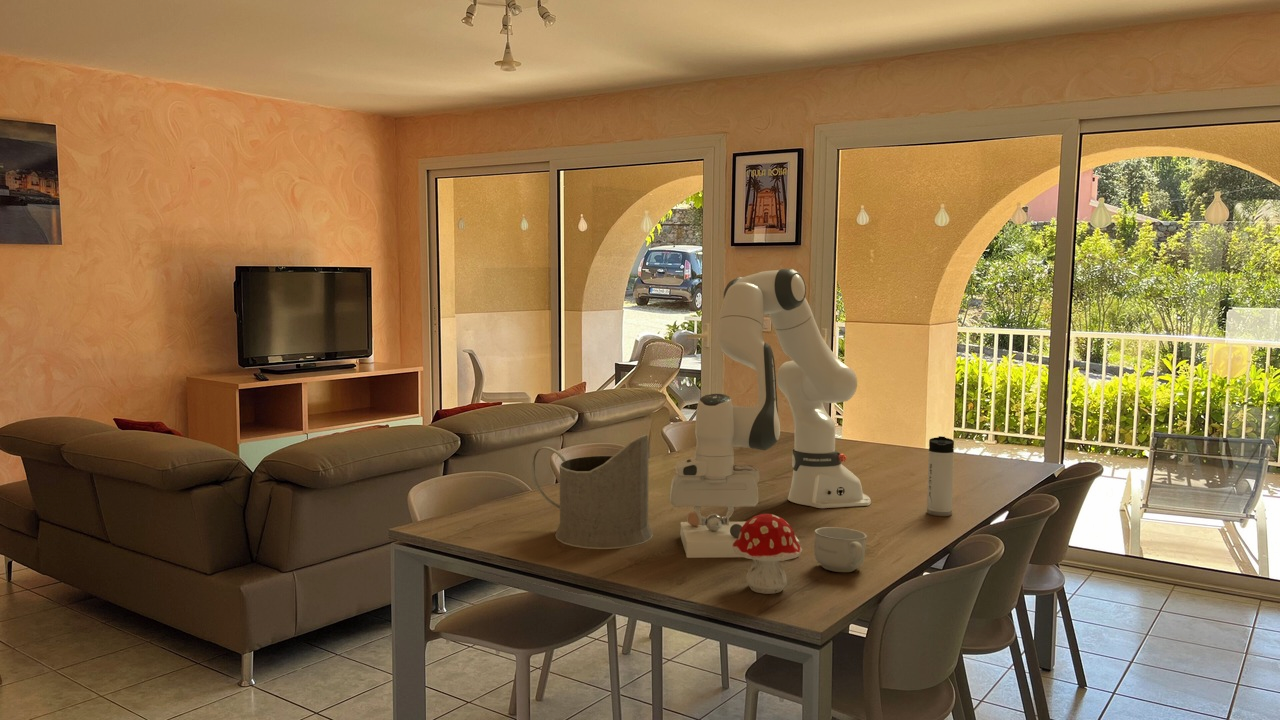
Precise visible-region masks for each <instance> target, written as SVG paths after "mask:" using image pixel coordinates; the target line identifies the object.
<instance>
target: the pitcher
mask: <svg viewBox="0 0 1280 720" xmlns="http://www.w3.org/2000/svg"><path fill="white" fill-rule="evenodd" d="M649 437H650V436H649V435H648V434H643V435H641V436H638V437H636V438H635V439H633V440H630V441H629V443H627V444H626V445H625V446H624V447H622V448H621V449H620V450H619V451H618V452H616V453H615V454H614V455H591V456H579V457H574V458H569V459H566V458H565V456H564V455H563V454H562V453H561V452H560V451H558V450H557V449H555V448H552V447H550V446H542V447H538V448H537V449H536V450H535V451H534V453H533V456H532V461H531V472H532V473H531V474H532V481H533V483H534V486H535V487H536V489H537V490H538V492H539V493H540V495H541V496H542V497H543V498H544V500H546V502H548V503H550V504H551V505H552V506H554V507H555V508H557V509H559V524H558V528H557V530H556V533H555V534H554V535H555V539H556V540H558V541H559V542H561V543H562V544H565V545H567V546H571V547H575V548H581V549H582V548H583V549H593V550H594V549H595V550H597V549H598V550H609V549H612V550H613V549H623V548H624V549H625V548H630V547H635V546H638V545H642V544H644V543H646V542H649V541H650V540H651V539H652V537H653V535H654V534H653V531H652V528H651V527H650V524H649V455H650V454H649V449H650V448H649V447H650V446H649V442H650V441H649ZM541 450H548V451H551V452H553V453H555V454H556V455H557V456H558V457H559V458H560V459H561V461H562V462H561V463H559V504H558V503H556V502H555V501H553V500H552V499H551V498H550V497H548V496H547V495H546V493H545V492H544V491H543V489H542V488H541V487H540V485H539V483H538V480H537V475H536V458H537V455H538V453H539V452H540V451H541Z"/></svg>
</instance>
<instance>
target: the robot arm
mask: <svg viewBox="0 0 1280 720" xmlns="http://www.w3.org/2000/svg"><path fill="white" fill-rule="evenodd" d="M806 295H807V287H806V283H805V280H804V278H803V276H802V275H801V274H800V273H799V272H798V271H797V270H796V269H793V268H780V269H778V270H777V269H776V270H773V269H772V270H765V271H760V272H757V273H752V274H749V275H746V276H743V277H742V276H739V277H736V278H734V279H731V280H730V281H729V282H728V283H727V284H726V286H725V289H724V291H723V300H722V303H721V307H720V311H719V314H718V321H717V328H716V342H717V345H718V348H719V349H720V350H721V352H722V353H724V355H726V356H727V357H728V358H729V359H731V360H733V361H735V362H737V363H739V364H742V365H743V366H744V365H745V366H746V367H748V368H751V370H753V371H755V372H756V374H757V375H756V377H757V389H758V390H757V392H758V393H757V394H758V403H757V404H756V405H753V406H745V405H744V406H742V405H734V404H733V402H732V401H733V400H732V399H731V398H732V397H730V396H729V395H727V394H723V393H710V394H706V395H703V396H701V397H700V398H699V399H698V402H697V407H696V414H695V423H694V424H695V427H694V431H695V433H694V435H695V437H696V446H695V449H694V450H695V451H694V456H692V457H689V458H686V459H683V460H679V461H677V462H676V463H675V471H676V473H675V474H673V477H672V479H671V484H670V492H669V502H670V504H671V505H672V506H673V507H674V508H681V507H682V508H688V507H689V508H690V507H691V508H692V507H693V511H695V512H696V514H697V516H698V518H699V526H703V525H706V523H705V522H706V518H707V517H706V516H702V514H701V510H702V507H703V508H704V507H705V508H706V507H710V508H711V507H716V508H717V507H726V509H727V512H726V514H725V515H722V516H721V518H722V521H723V524H722V525H729V522H730V518H731V517H732V515H733V513H734V512H735V507H756V506H757V505H758V503H759V491H758V490H759V489H758V483H759V481H760V471H759V469H758V468H757V467H754V465H750V464H749V465H736V464H734V462H735V461H734V460H735V459H734V457H735V455H734V454H735V453H734V452H735V451H734V447H739V448H749V449H753V450H754V449H755V450H761V451H767V450H768V449H770V448H772V447H773V446H775V445H776V444H777V443H778V442H779V440H780V435H781V423H780V417H779V408H778V395H777V394H778V393H777V387H778V389H779V390H780V392H781V393H782V394H783V396H785V398H786V400H787V402H788V404H789V408H790V411H791V414H792V419H793V424H794V425H793V426H794V430H793V431H794V432H793V433H794V448H793V450H792V455H791V457H792V458H791V466H792V469H793V471H792V478H791V484H790V490H789V493H788V496H787V500H788V501H790V502H791V503H795V504H798V505H803V506H809V507H813V508H818V509H827V508H828V509H829V508H830V509H831V508H845V507H846V508H847V507H864V506H870V505H871V503H872V502H871V501H872V500H871V498H870V497H869V495H867V494H865V493H864V491H863V487H862V483H861V480H860V478H859V477H858V476H856V475H855V474H854V473H853V472H852V471H851V470H849V469H848V468H847V467H846V466H845V465H843V464H842V463H844V462H846V461H848V457H847V455H845V454H844V453H841V452H839V451H837V449H836V423H835V420H834V418H832V417H831V416H830V415H829V414H828V411H826V409H825V406H824V403H827V404H828V403H829V404H833V403H834V404H837V403H843V402H844V403H845V402H849V401H850V400H851V399H852V398H853V397H854V395H855V394H856V391H857V388H858V378H857V374H856V373H855V370H853V369H852V368H851V367H849V366H848V365H846V364H845V363H844V362H842V361H841V359H839V358H838V357H837V355H836V353H834V352H833V351H832V349H831V348H830V346H829V345H828V344H827V343H826V341H825V340H824V337H823V335H822V334H821V331H820V329H819V327H818V324H817V321H816V320H815V316H814V313H813V311H812V308H811V306H810V304H809V302H808V300H807V298H806ZM768 315H769V319H770V322H771V324H772V327H773V331H774V332H775V335H776V337H777V340H778V343H779V345H780V348H781V350H782V352H783V353H784V355H785V356H787V357H788V358H790V359H791V360H789V361H785V362H783V363H782V364H781V365H780V366H779V367H778V370H777V372H776V365H775V357H774V352H773V349H772V347H771V345H770V344H769V343H766V342H765V339H764V337H763V328H764V316H768ZM700 514H701V515H700Z"/></svg>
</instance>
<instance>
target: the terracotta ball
mask: <svg viewBox="0 0 1280 720" xmlns="http://www.w3.org/2000/svg"><path fill="white" fill-rule="evenodd" d="M700 515H701V516H702V514H701V513H700ZM686 518H687V519H686V520H687V521H686V522H688V523H689V524H690V525H692V526H698V525H699V518H698V516H697V514H696V512H695V510H692V511H690V512H689V513H688V515H687V517H686Z"/></svg>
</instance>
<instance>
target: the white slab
mask: <svg viewBox="0 0 1280 720" xmlns="http://www.w3.org/2000/svg"><path fill="white" fill-rule="evenodd" d="M746 522H747V521H729V525H722V527H721V528H720V529H719V530H717V531H711V530H709V529H708V528H707V527H706V525H703V526H699V525H698V526H692V525H690V524H689V523H688V521H680V540H681V542H682V545H683V549H684V553H685V557H686V558H687V559H689V558H690V559H693V558H694V559H696V558H703V559H704V558H706V559H707V558H711V559H712V558H743V557H742V556H740V555H737V554H736V553H735V552H734V550H733V547H732V545H733V543H734V542H735V541H736V540H737V538H735V537H733V536H732V535H731V533H730V528H731V526H732V525H734V524H739V525H741V526H743V525H744V524H745V523H746ZM795 537H796V541H797V542H798V544H799V545H800V540H799V539H798V537H797V536H796V535H795ZM798 557H800V555H799V556H797V557H796V558H798Z"/></svg>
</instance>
